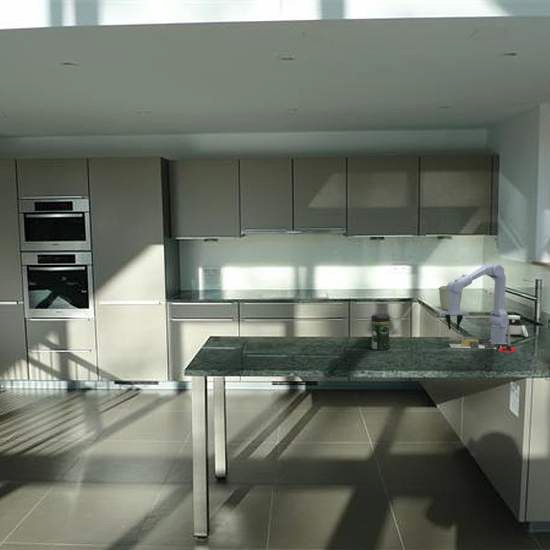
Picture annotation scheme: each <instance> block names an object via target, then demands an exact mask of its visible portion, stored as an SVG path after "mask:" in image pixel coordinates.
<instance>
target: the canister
mask: <svg viewBox="0 0 550 550" xmlns="http://www.w3.org/2000/svg"><path fill="white" fill-rule="evenodd" d="M446 286H447V285H441V286H440V287H438V291H439V302H440V308H441V309H442V310H443V309H445V310H444V311H448V298H449V294H448V290H447V289H446ZM463 290H464V288H463V289H462V291H461V292H460V303H461V300H462V293H463Z"/></svg>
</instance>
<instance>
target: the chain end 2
mask: <svg viewBox="0 0 550 550" xmlns="http://www.w3.org/2000/svg"><path fill="white" fill-rule="evenodd" d="M481 342H482V343H481V345H482V346H484V348H483V349H487V348H497V344H495V343H492V341H489V340H482V341H481Z"/></svg>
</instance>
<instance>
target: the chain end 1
mask: <svg viewBox="0 0 550 550" xmlns="http://www.w3.org/2000/svg"><path fill="white" fill-rule="evenodd" d="M479 345H480V343H479V342H478V343H471V348H470V349H480V348H479Z"/></svg>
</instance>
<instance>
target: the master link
mask: <svg viewBox="0 0 550 550" xmlns="http://www.w3.org/2000/svg"><path fill="white" fill-rule="evenodd" d="M471 343H479V340H478V339H476V338H473V339H472V338H471V339H469V338H468V339H467V338H461V344H462V347H471Z"/></svg>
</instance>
